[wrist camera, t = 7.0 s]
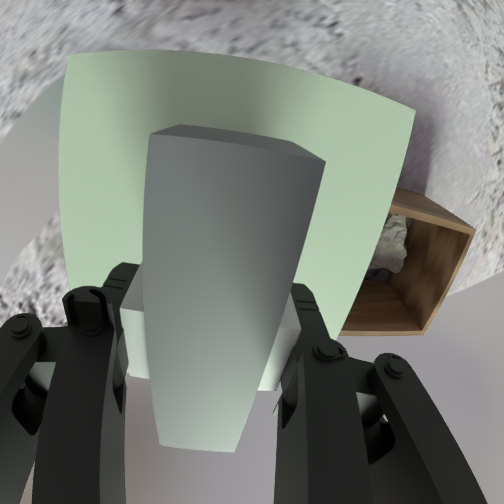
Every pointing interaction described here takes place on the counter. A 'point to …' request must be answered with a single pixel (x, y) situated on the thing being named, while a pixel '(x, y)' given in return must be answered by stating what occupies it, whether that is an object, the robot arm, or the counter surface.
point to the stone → (391, 244)
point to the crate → (413, 272)
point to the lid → (221, 210)
